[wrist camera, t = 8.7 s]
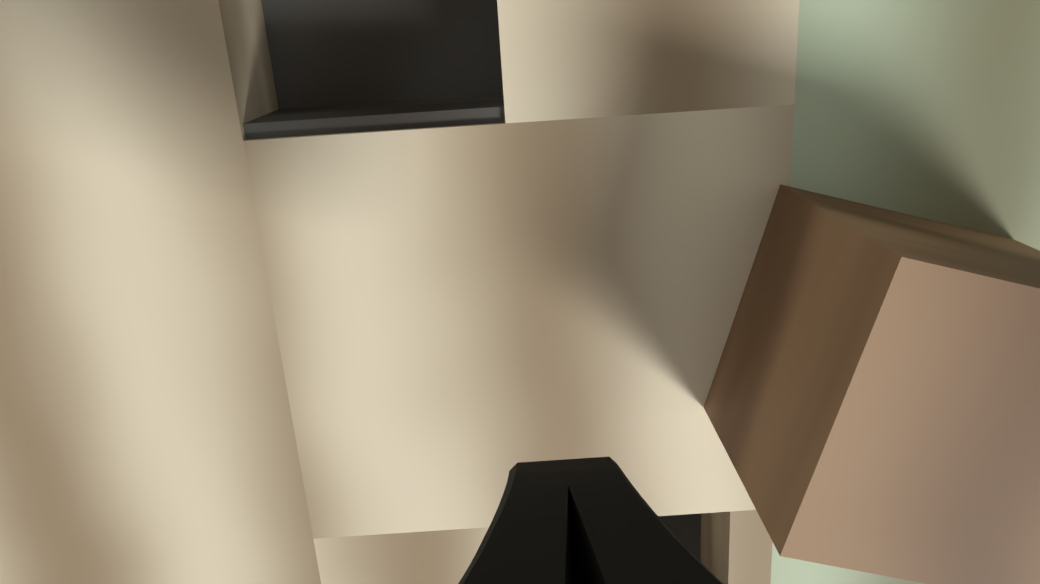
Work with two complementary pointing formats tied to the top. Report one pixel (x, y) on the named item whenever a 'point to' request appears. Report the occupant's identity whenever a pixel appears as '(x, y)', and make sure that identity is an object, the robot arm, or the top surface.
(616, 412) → the wooden tray
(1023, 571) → the walnut block
